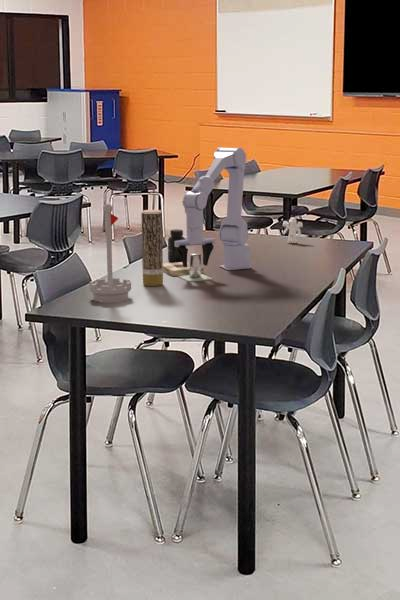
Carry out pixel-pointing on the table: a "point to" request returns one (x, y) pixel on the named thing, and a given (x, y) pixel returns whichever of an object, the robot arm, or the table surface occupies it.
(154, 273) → the paper tube
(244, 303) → the table surface
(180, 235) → the supplement bottle
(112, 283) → the flag stand
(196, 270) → the clear glass cup
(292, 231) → the hat wearing toy figure
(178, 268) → the plate
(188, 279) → the sage mat
